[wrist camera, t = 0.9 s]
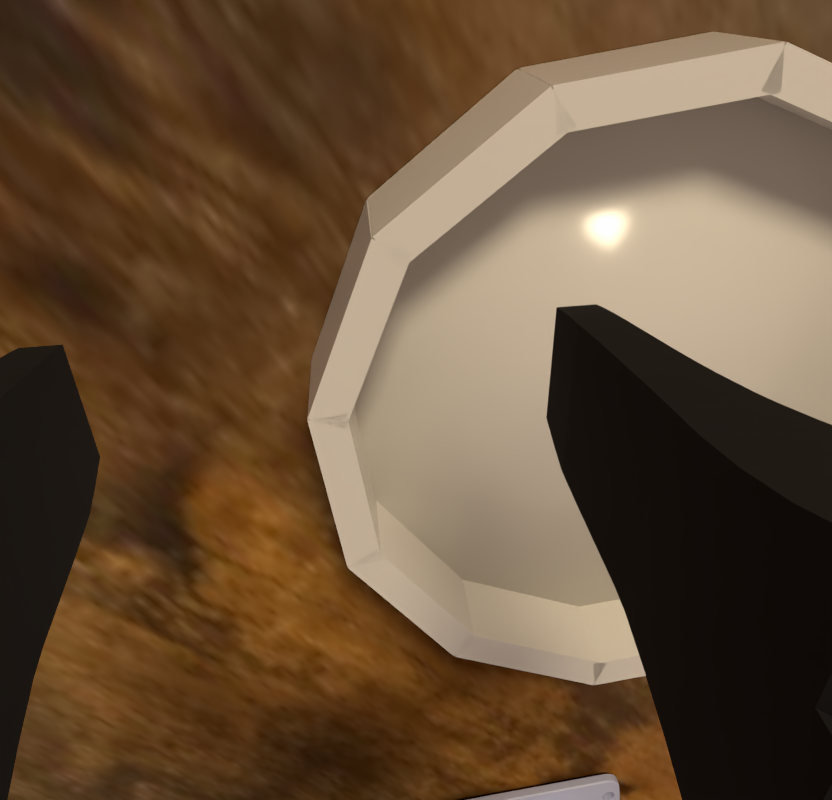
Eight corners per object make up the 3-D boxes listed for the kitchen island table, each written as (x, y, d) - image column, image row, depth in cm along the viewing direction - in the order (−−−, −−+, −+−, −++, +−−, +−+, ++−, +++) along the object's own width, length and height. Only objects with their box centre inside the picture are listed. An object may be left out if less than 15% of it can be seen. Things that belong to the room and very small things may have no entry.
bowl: (880, 549, 28) (947, 619, 25) (384, 641, 28) (389, 723, 25) (982, -20, 19) (1106, -19, 16) (249, 118, 19) (232, 145, 16)
